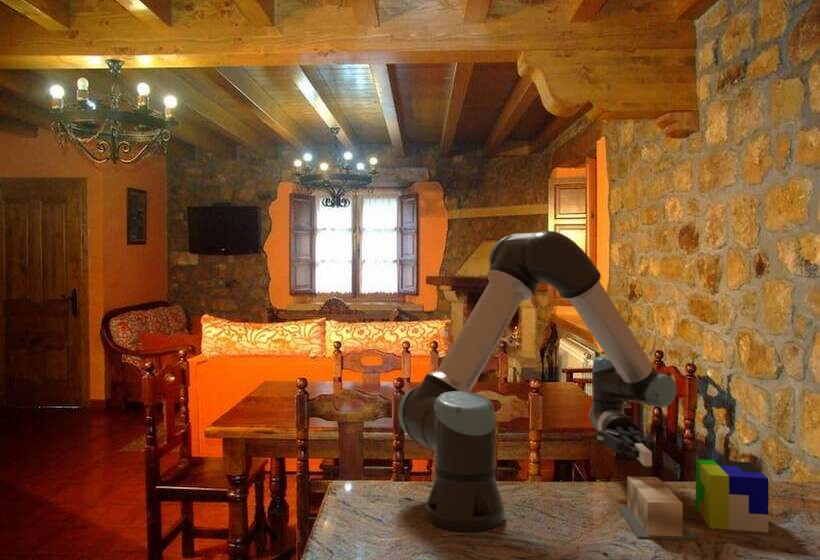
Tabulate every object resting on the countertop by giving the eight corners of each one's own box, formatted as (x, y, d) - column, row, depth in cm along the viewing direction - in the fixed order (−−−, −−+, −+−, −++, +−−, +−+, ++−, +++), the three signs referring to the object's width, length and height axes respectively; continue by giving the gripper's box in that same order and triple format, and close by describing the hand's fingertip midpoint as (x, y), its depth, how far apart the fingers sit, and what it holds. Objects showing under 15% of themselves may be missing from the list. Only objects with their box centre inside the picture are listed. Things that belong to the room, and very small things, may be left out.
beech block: (627, 476, 124) (648, 502, 110) (657, 477, 124) (682, 503, 110) (627, 506, 124) (648, 535, 110) (657, 507, 124) (682, 536, 110)
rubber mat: (618, 508, 124) (618, 507, 124) (669, 510, 123) (669, 508, 123) (637, 538, 110) (637, 536, 110) (695, 540, 109) (695, 538, 109)
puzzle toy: (768, 532, 112) (768, 478, 112) (709, 528, 114) (709, 475, 114) (749, 512, 122) (749, 462, 122) (695, 508, 124) (695, 459, 124)
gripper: (646, 445, 143) (682, 479, 120) (589, 444, 144) (613, 477, 121) (646, 413, 143) (682, 440, 120) (589, 412, 144) (613, 439, 121)
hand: (647, 459), depth 120 cm, fingers closed
